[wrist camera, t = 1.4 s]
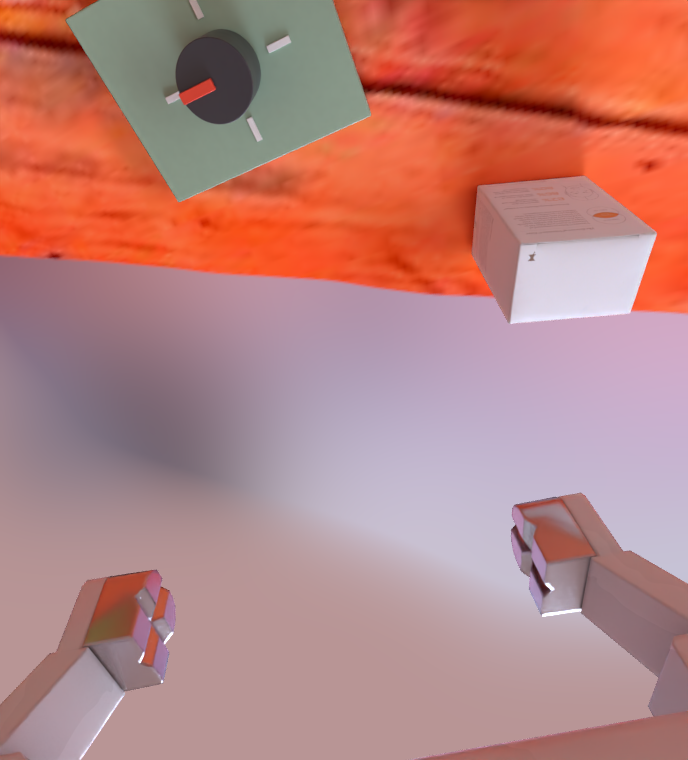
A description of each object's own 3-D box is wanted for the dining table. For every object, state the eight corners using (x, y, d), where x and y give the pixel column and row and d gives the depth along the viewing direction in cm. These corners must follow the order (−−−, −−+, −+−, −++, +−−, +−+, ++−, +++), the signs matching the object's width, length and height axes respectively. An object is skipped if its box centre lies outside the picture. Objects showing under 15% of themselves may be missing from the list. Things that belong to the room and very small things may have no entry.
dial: (239, 15, 28) (227, 22, 25) (273, 91, 30) (265, 107, 27) (177, 48, 29) (157, 59, 26) (215, 119, 31) (201, 138, 28)
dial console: (296, -107, 27) (293, -114, 25) (368, 105, 34) (371, 116, 31) (84, 15, 30) (63, 19, 28) (188, 187, 37) (178, 203, 34)
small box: (469, 253, 40) (504, 326, 32) (476, 182, 37) (517, 244, 29) (571, 245, 40) (632, 317, 32) (587, 173, 37) (660, 233, 29)
